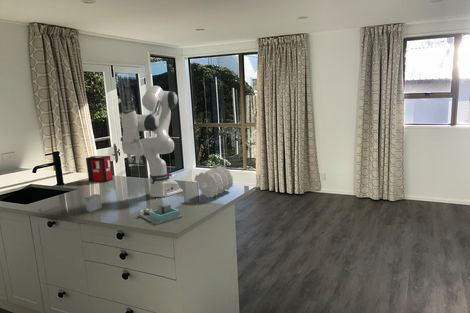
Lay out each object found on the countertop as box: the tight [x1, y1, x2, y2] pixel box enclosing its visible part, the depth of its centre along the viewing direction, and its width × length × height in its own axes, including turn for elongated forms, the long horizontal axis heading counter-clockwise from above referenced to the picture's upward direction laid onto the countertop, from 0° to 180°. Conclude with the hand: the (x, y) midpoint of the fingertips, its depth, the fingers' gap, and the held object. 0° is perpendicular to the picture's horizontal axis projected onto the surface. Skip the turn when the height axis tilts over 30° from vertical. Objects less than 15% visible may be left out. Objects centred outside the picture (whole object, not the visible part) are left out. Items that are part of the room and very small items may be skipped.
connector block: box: [156, 203, 172, 215], centre depth 196 cm, size 6×4×6 cm
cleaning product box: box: [85, 155, 114, 183], centre depth 297 cm, size 16×9×20 cm, turn 77°
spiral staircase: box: [194, 166, 234, 199], centre depth 237 cm, size 18×18×25 cm
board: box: [138, 208, 183, 226], centre depth 199 cm, size 15×21×4 cm
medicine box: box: [84, 193, 103, 213], centre depth 219 cm, size 8×4×9 cm, turn 150°
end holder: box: [149, 206, 181, 221], centre depth 196 cm, size 12×11×3 cm
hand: (134, 162), depth 208 cm, fingers open, 8 cm apart
